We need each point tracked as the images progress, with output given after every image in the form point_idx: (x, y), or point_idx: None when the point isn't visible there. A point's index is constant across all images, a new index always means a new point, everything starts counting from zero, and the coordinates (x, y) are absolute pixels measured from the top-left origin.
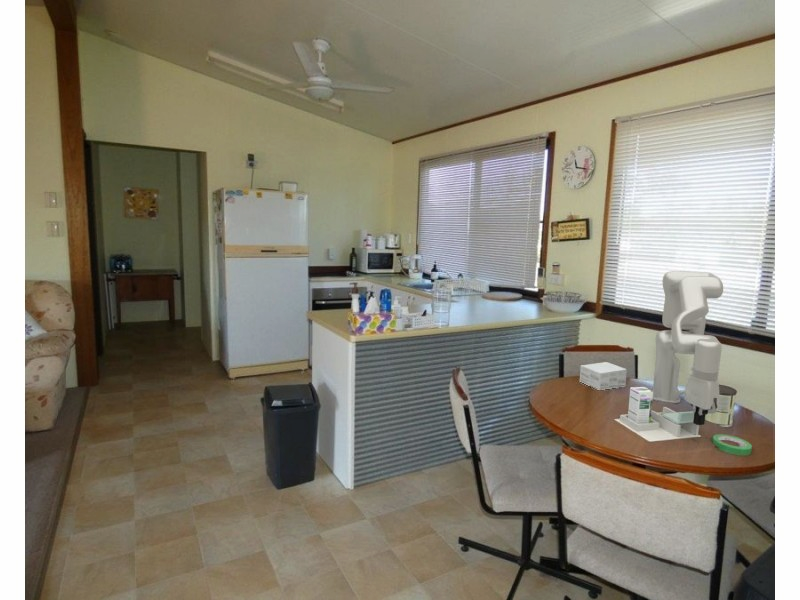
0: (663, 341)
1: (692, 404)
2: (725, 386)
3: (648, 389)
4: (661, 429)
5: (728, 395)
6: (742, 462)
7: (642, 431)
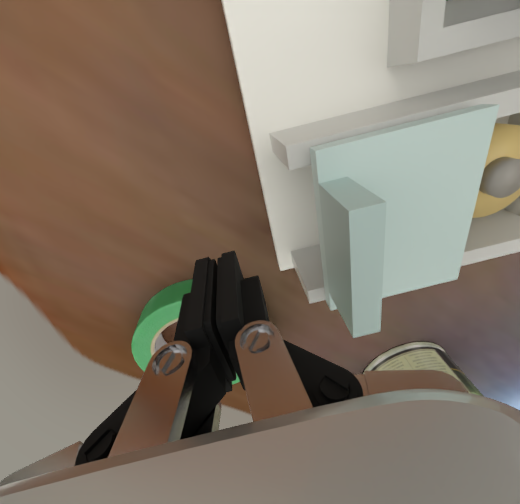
0: None
1: (332, 400)
2: None
3: None
4: (383, 88)
5: None
6: (66, 307)
7: None
